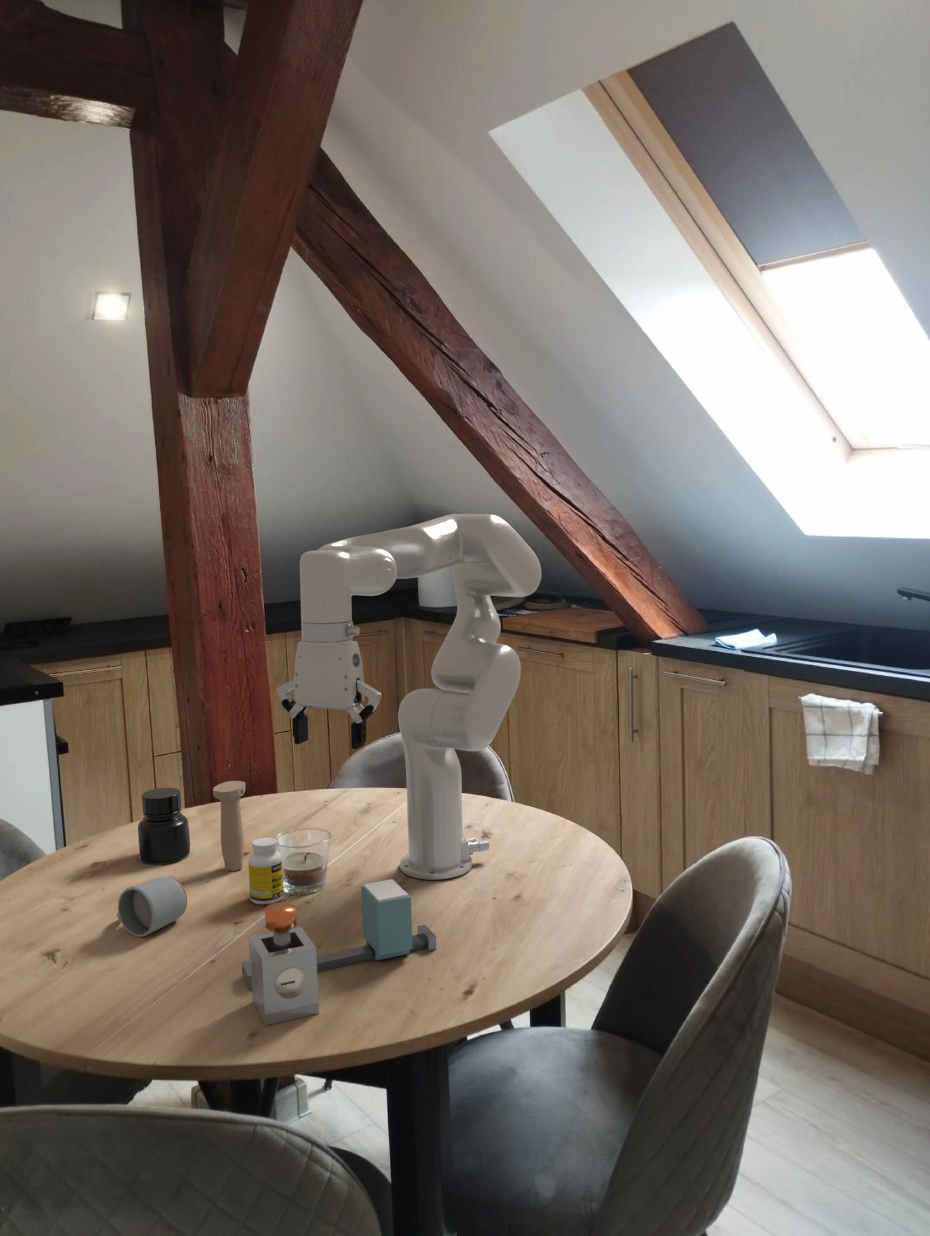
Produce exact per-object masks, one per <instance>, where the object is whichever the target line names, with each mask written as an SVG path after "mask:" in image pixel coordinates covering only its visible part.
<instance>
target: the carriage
mask: <svg viewBox="0 0 930 1236" xmlns="http://www.w3.org/2000/svg"><path fill="white" fill-rule="evenodd" d="M360 889H361V911H362V912H361V913H362V914H361V915H362V935H363V938H364V940H365V945H371V947H372V948H373V949H374V950H375V959H374V960H376V961H381V960H386V959H389V958H390V959H391V958H395V957H398V956H399V957H401V956H403V955H408V954H410V953H411V952H410V949H412V936H413V927H412V926H413V924H412V898H411V896H410V895H409V893H408V892H406V891H405V889H403V888H402V886H400V885H399V884H398V883H397V882H396V881H395V880H394V879H392V878H391V879H386V880H380V881H375V882H368V883H364V884H363V886H361V888H360Z"/></svg>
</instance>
